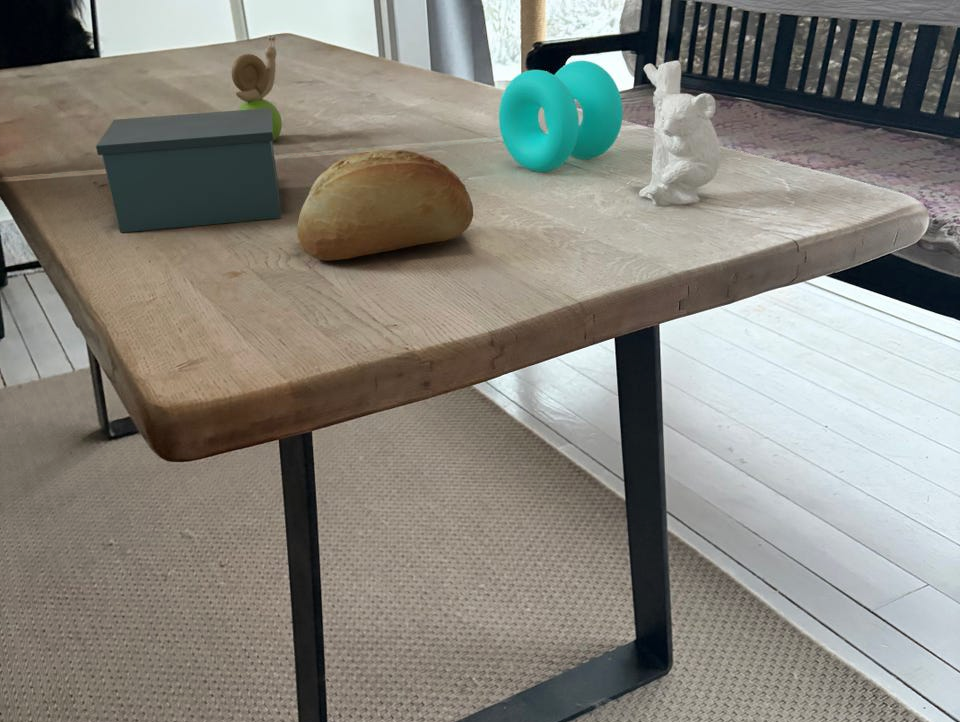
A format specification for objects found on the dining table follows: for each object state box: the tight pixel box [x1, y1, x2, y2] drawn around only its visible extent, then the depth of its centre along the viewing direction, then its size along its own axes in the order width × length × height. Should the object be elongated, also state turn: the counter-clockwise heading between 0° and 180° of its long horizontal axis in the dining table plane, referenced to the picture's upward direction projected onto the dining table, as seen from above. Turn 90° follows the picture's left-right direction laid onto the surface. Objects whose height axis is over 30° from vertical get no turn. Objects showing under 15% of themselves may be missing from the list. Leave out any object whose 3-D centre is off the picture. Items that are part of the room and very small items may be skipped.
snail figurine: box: [231, 34, 283, 143], centre depth 113 cm, size 5×6×12 cm
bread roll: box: [296, 149, 474, 261], centre depth 77 cm, size 10×15×8 cm, turn 114°
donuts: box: [498, 60, 624, 173], centre depth 100 cm, size 10×10×10 cm
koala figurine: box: [638, 60, 722, 207], centre depth 85 cm, size 8×7×12 cm
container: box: [95, 108, 282, 234], centre depth 90 cm, size 15×12×8 cm
